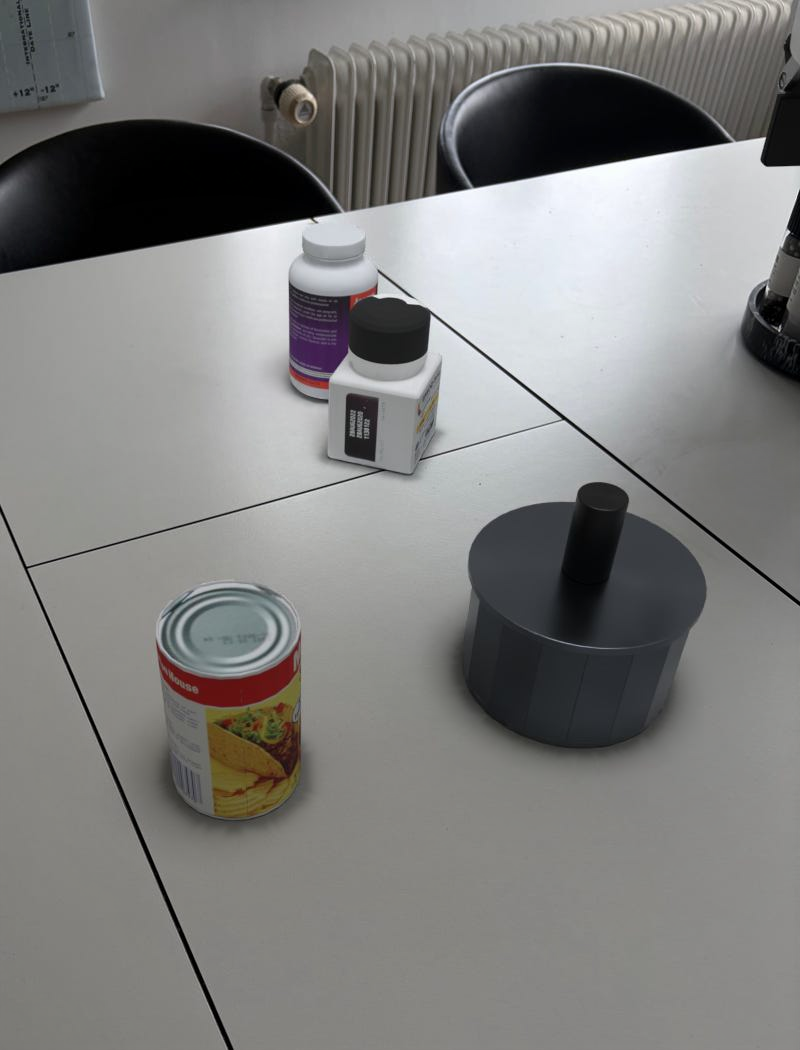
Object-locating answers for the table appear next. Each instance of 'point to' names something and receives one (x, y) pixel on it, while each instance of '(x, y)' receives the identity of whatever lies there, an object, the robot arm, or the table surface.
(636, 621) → the tin lid
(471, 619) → the tin
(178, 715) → the canned food
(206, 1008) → the table surface
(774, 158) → the robot arm
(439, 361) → the container
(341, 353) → the pill bottle
